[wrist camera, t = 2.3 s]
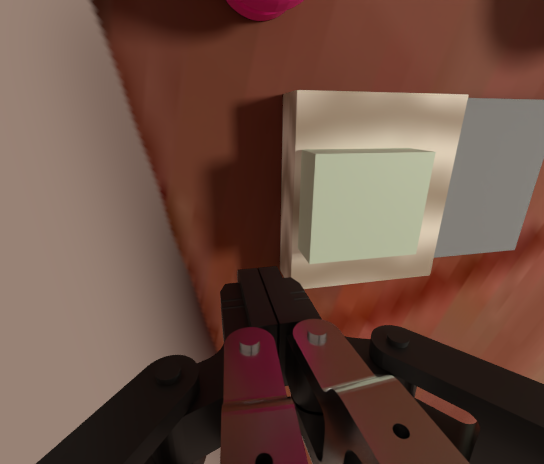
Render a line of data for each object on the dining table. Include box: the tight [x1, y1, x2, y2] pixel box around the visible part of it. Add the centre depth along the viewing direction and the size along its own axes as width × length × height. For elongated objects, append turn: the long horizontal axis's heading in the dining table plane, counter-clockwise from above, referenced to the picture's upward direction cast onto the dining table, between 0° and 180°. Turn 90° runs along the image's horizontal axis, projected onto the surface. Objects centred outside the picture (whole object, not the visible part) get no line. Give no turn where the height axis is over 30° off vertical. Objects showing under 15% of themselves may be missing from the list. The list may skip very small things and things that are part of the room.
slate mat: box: [434, 98, 544, 258], centre depth 31 cm, size 16×14×1 cm
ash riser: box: [280, 90, 468, 289], centre depth 27 cm, size 16×14×4 cm
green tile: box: [298, 148, 436, 264], centre depth 23 cm, size 8×9×3 cm
